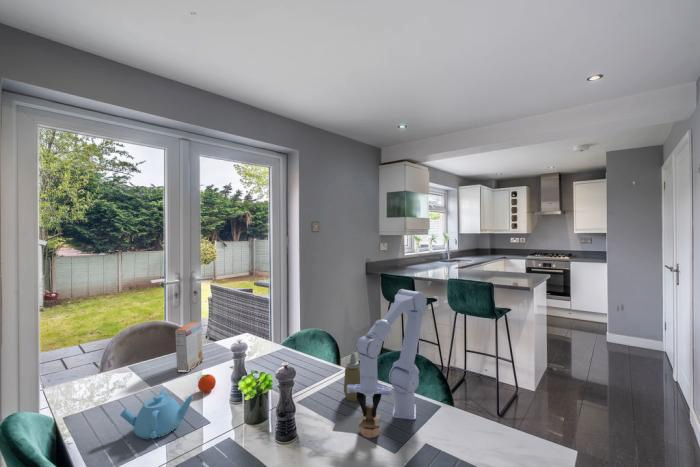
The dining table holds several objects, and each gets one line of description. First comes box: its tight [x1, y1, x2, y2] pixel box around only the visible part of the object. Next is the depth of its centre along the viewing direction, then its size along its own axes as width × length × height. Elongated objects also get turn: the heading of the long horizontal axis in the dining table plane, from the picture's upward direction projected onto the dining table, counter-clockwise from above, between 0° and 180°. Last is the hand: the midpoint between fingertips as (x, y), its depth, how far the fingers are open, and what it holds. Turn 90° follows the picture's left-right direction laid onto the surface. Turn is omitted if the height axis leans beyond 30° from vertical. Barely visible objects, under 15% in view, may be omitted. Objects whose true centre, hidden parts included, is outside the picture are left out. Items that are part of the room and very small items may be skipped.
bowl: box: [359, 423, 381, 439], centre depth 108 cm, size 6×6×3 cm
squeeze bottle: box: [343, 352, 360, 403], centre depth 129 cm, size 8×8×18 cm
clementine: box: [197, 374, 217, 393], centre depth 139 cm, size 8×7×7 cm
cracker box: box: [174, 321, 204, 371], centre depth 164 cm, size 14×6×21 cm, turn 175°
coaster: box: [331, 415, 361, 434], centre depth 112 cm, size 9×9×1 cm
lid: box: [359, 404, 381, 428], centre depth 107 cm, size 6×6×5 cm
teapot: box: [119, 390, 194, 440], centre depth 113 cm, size 15×17×11 cm
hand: (369, 415), depth 107 cm, fingers closed on lid, 3 cm apart
